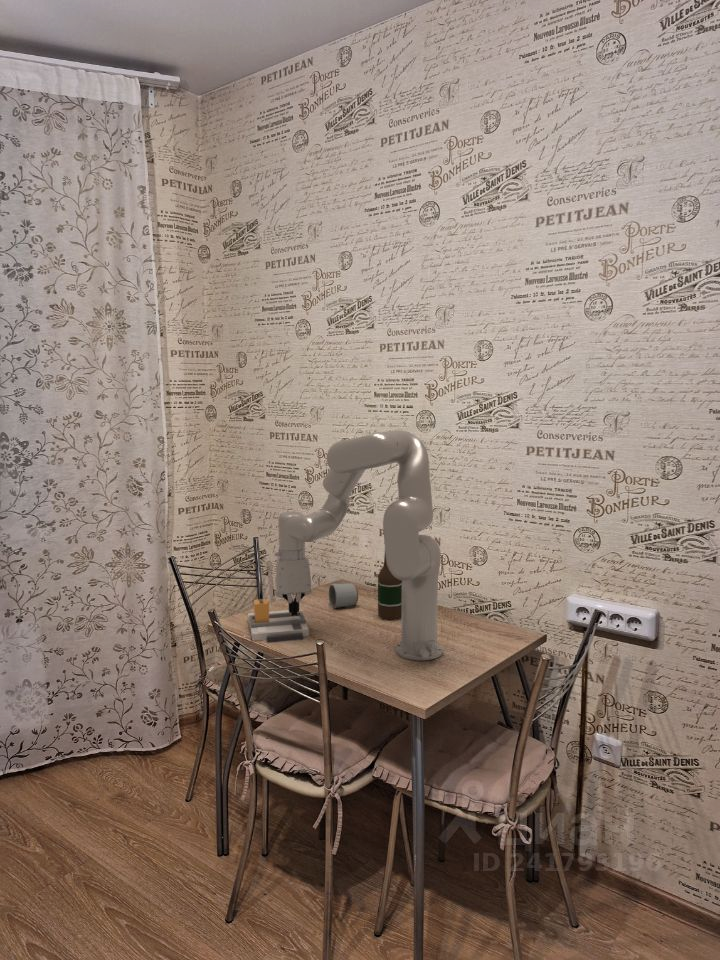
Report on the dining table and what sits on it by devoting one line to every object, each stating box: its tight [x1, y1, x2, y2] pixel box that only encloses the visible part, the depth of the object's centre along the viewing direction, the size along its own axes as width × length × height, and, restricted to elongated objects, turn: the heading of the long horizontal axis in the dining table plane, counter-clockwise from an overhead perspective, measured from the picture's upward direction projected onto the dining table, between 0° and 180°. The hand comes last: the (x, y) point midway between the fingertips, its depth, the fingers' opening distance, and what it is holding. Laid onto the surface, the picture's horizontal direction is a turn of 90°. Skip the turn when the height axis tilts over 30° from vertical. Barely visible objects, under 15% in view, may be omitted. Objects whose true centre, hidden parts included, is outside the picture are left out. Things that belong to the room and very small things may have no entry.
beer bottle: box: [377, 542, 402, 621], centre depth 209 cm, size 8×8×24 cm
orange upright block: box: [253, 598, 270, 623], centre depth 200 cm, size 4×4×6 cm
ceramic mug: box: [328, 582, 359, 609], centre depth 222 cm, size 11×8×8 cm
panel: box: [247, 608, 310, 642], centre depth 202 cm, size 18×16×3 cm
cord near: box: [266, 633, 304, 643], centre depth 192 cm, size 1×10×1 cm, turn 103°
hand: (294, 614), depth 202 cm, fingers closed
